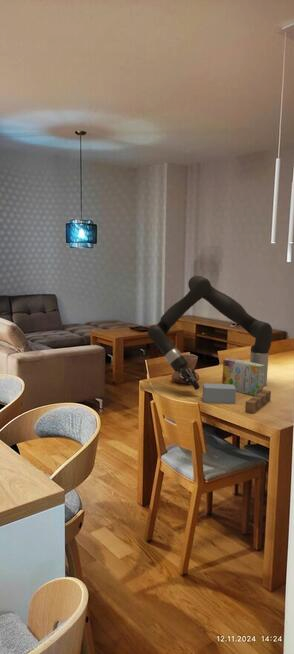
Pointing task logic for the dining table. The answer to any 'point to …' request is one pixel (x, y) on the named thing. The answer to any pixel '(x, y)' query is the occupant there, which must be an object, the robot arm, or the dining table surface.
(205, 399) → the brick
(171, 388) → the dining table surface
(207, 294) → the robot arm
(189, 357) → the ceramic jug
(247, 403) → the notched wooden bar
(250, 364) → the snack box
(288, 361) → the dining table surface
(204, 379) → the dining table surface
